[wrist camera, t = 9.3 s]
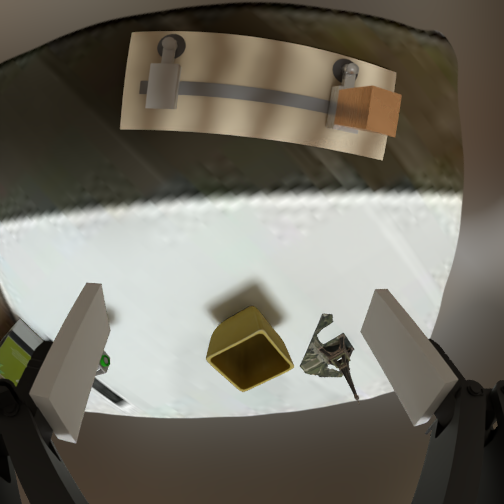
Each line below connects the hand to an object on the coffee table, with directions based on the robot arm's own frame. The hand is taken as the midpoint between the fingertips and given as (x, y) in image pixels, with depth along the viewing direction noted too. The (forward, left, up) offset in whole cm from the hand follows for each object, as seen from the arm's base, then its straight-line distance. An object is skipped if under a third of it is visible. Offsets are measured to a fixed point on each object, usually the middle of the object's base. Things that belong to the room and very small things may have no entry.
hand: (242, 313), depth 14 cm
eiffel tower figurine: (+21, -26, -27) cm, 43 cm away
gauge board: (+3, +12, -26) cm, 29 cm away
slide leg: (+12, +13, -23) cm, 29 cm away
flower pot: (+5, -21, -26) cm, 34 cm away
